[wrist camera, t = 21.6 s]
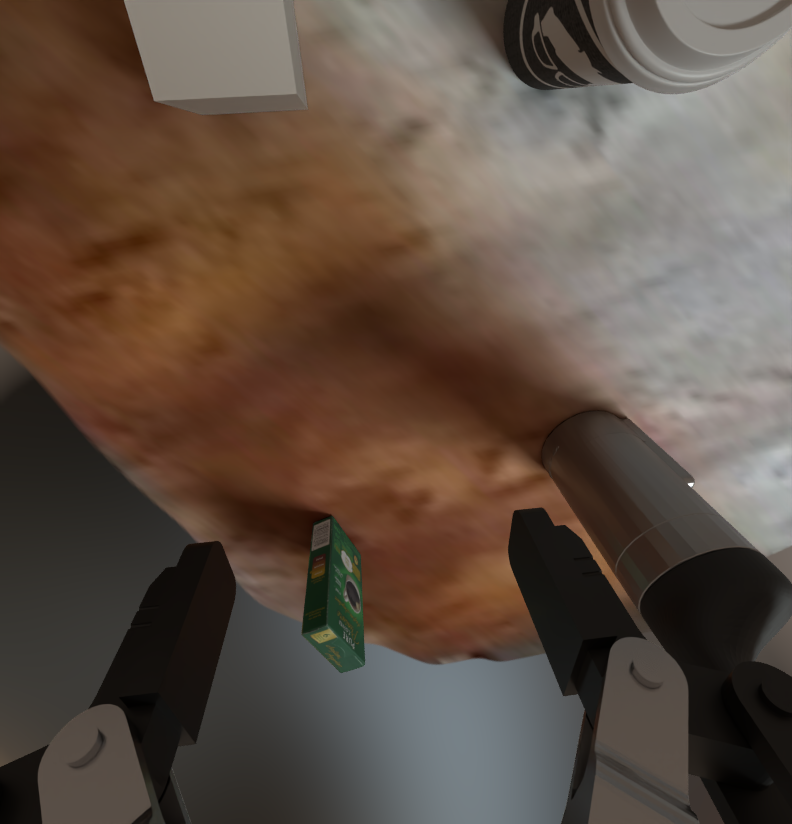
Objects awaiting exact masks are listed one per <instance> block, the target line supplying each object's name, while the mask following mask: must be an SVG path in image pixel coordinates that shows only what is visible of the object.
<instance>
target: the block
mask: <svg viewBox="0 0 792 824" xmlns="http://www.w3.org/2000/svg"><path fill="white" fill-rule="evenodd" d="M124 3H125V6H126V9H127V12H128V16H129V19H130V22H131V26H132V29H133V32H134V36H135V39H136V42H137V46H138V49H139V52H140V56H141V59H142V62H143V66H144V69H145V72H146V76H147V79H148V82H149V86H150V89H151V92H152V96H153V99H154V101H156V102H159V103H163V104H166V105H169V106H173V107H176V108H180V109H183V110H186V111H190V112H193V113H196V114H200V115H213V114H232V113H252V112H271V111H290V110H308V106H307V99H306V92H305V84H304V77H303V70H302V62H301V55H300V47H299V40H298V33H297V25H296V18H295V11H294V3H293V0H124Z"/></svg>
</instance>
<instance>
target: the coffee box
mask: <svg viewBox="0 0 792 824" xmlns="http://www.w3.org/2000/svg"><path fill="white" fill-rule="evenodd" d="M302 635H303V637H304V638H306V639H307V640H308V641H309V642H310V643H311V644H312V645H313V646H314V647H315V648H316V649H317V650H318V651H319V652H320V653H321V654H322V655H323V656H324V657H325V658H326V659H327V660H328V661H329V662H330V663H331V664H332V665H333V666H334V667H335V668H336V669H337V670H338V671H339V672H340V673H343V672H347V671H350V670H354V669H357V668H360V667H362V666H364V665H365V653H364V652H365V651H364V626H363V603H362V577H361V555H360V553H359V552H358V551H357V549H356V547H355V546H354V545H353V544H352V542H351V541H350V540H349V538H348V537H347V535H346V534H345V533H344V531H343V530H342V528H341V527H340V525H339V524H338V523H337V521H336V520H335V518H334V517H333V516H330V517H328V518H325V519H323V520H320V521H317V522H315V523H313V529H312V538H311V548H310V557H309V568H308V577H307V587H306V596H305V606H304V615H303V625H302Z"/></svg>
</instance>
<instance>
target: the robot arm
mask: <svg viewBox="0 0 792 824" xmlns="http://www.w3.org/2000/svg"><path fill="white" fill-rule="evenodd" d="M542 462H543V465H544V467H545V468H546V470H547V471H548V473H549V475H550V477H551V478H552V479H553V481H554V482H555V484H556V485H557V487H558V488H559V490H560V492H561V493H562V495H563V496H564V498H565V499H566V501H567V502H568V504H569V505H570V507H571V509H572V510H573V512H574V513H575V515H576V516H577V518H578V519H579V521H580V522H581V524H582V525H583V527H584V528H585V530H586V532H587V533H588V535H589V536H590V538H591V539H592V541H593V542H594V544H595V545H596V547H597V548H598V550H599V551H600V553H601V554H602V556H603V558H604V559H605V561H606V562H607V564H608V565H609V567H610V568H611V570H612V571H613V573H614V574H615V576H616V577H617V579H618V580H619V582H620V583H621V585H622V586H623V588H624V590H625V591H626V593H627V594H628V596H629V597H630V599H631V600H632V602H633V603H634V605H635V606H636V608H637V609H638V611H639V612H640V614H641V615H642V617H643V618H644V620H645V621H646V623H647V624H648V626H649V627H650V629H651V630H652V632H653V633H654V635H655V636H656V638H657V639H658V641H659V642H660V643H661V645H662V646H663V648H664V649H665V650H663V649H662V648H661V647H659V646H658V645H656V644H654V643H652V642H650V641H648V640H647V639H646V638H645V637H644V636H643V635H642V633H641V632H640V631H639V629H638V628H637V626H636V625H635V623H634V621H633V620H632V618H631V617H630V615H629V613H628V612H627V610H626V609H625V607H624V605H623V604H622V602H621V601H620V599H619V598H618V596H617V594H616V593H615V591H614V590H613V588H612V586H611V585H610V583H609V582H608V580H607V578H606V577H605V575H603V574H602V570H601V569H600V567H599V566H598V564H597V563H596V561H595V560H593V556H592V555H591V553H590V551H589V550H588V548H587V547H586V545H585V543H584V542H583V540H582V539H581V538H580V537H579V536H577V535H576V534H575V533H574V532H573V531H572V530H570V529H569V528H568V527H567V526H566V525H560V526H554V524H553V522H552V521H551V519H550V517H549V515H548V514H547V512H546V511H545V510H544V509H543V508H532V509H523V510H515V511H514V513H513V518H512V525H511V532H510V538H509V545H508V554H509V560H510V565H511V568H512V571H513V573H514V576H515V578H516V581H517V583H518V586H519V588H520V591H521V593H522V595H523V598H524V600H525V603H526V605H527V608H528V610H529V613H530V615H531V618H532V620H533V623H534V625H535V628H536V630H537V632H538V635H539V637H540V640H541V642H542V645H543V647H544V650H545V652H546V655H547V657H548V660H549V662H550V664H551V667H552V669H553V672H554V674H555V677H556V679H557V682H558V684H559V687H560V689H561V691H562V694H563V696H568V695H576V694H578V695H579V697H580V699H581V702H582V704H583V706H584V708H585V711H584V714H583V720H582V725H581V731H580V735H579V741H578V746H577V751H576V757H575V762H574V768H573V773H572V779H571V783H570V789H569V794H568V799H567V803H566V808H565V811H564V815H563V818H562V822H561V824H699V821H698V818H697V816H696V814H695V813H694V812H693V811H692V810H691V808H690V805H689V798H688V774H691V775H695V776H699V777H700V778H701V780H702V782H703V784H704V786H705V788H706V789H707V791H708V793H709V795H710V797H711V799H712V801H713V803H714V805H715V806H716V808H717V810H718V812H719V814H720V816H721V818H722V820H723V822H724V823H725V824H792V677H791V676H789V675H788V674H786V673H785V672H783V671H781V670H779V669H777V668H775V667H773V666H770V665H768V664H764V663H761V662H755V660H756V658H757V656H758V654H759V653H760V651H761V650H762V649H763V648H764V646H765V645H766V644H767V643H768V642H769V641H770V640H771V639H772V638H773V637H774V636H775V635H776V634H777V633H778V632H779V630H780V629H781V628H782V627H783V626H784V625H785V624H786V623H787V622H788V620H789V619H790V617H791V615H792V584H791V582H790V581H789V580H788V579H787V577H786V576H785V575H784V574H783V573H782V572H781V571H780V570H779V569H778V568H777V567H776V566H775V565H774V564H772V563H771V562H770V561H769V560H768V559H767V558H766V557H765V556H764V555H763V554H761V553H760V552H759V551H758V550H757V549H756V548H755V547H754V546H753V545H752V544H751V543H750V542H749V541H748V540H747V539H746V538H744V537H743V536H742V535H741V534H740V533H739V532H738V531H737V530H736V529H735V528H734V527H733V526H732V525H731V524H730V523H729V522H727V521H726V520H725V519H724V518H723V517H722V516H721V515H720V514H719V513H718V512H717V511H716V510H715V509H714V508H713V507H711V506H710V505H709V504H708V503H707V502H706V501H705V500H704V499H703V498H702V497H701V496H700V495H699V494H698V493H697V492H696V491H695V490H694V489H692V488H693V486H694V483H695V481H694V478H693V477H692V476H691V475H690V474H689V473H688V472H687V471H686V470H685V469H684V468H683V467H682V466H680V465H679V464H678V463H677V462H676V461H675V460H674V459H673V458H672V457H671V456H669V455H668V454H667V453H666V452H665V451H664V450H663V449H662V448H661V447H660V446H658V445H657V444H656V443H655V442H654V441H653V440H652V439H651V438H650V437H649V436H648V435H646V434H645V433H644V432H643V431H642V430H641V429H640V428H639V427H638V426H637V425H635V424H634V423H633V422H632V421H631V420H630V419H619V418H618V417H616V416H615V415H613V414H611V413H608V412H605V411H589V412H585V413H581V414H578V415H576V416H574V417H571V418H569V419H568V420H566V421H565V422H563V423H561V424H560V425H559V426H558V427H557V428H556V429H555V430H554V431H553V432H552V433H551V434H550V435H549V437H548V438H547V440H546V442H545V444H544V447H543V450H542ZM235 595H236V582H235V577H234V574H233V571H232V569H231V566H230V564H229V561H228V559H227V556H226V554H225V551H224V549H223V546H222V544H221V543H220V542H219V541H214V542H204V543H195V544H189V545H187V546H186V547H185V549H184V551H183V553H182V555H181V557H180V559H179V562H178V564H177V566H176V567H168V568H165V570H164V571H163V572H162V573H161V574H160V575H159V576H158V577H157V578H156V579H155V581H154V582H153V583H152V584H151V585H150V586H149V588H148V590H147V592H146V594H145V597H144V598H143V600H142V602H141V604H140V607H139V611H137V613H136V615H135V617H134V619H133V621H132V623H131V628H130V629H128V631H127V633H126V635H125V637H124V640H123V642H122V644H121V646H120V648H119V650H118V652H117V654H116V656H115V658H114V660H113V662H112V664H111V666H110V668H109V671H108V673H107V675H106V677H105V679H104V681H103V683H102V685H101V687H100V689H99V691H98V693H97V695H96V697H95V699H94V701H93V703H92V704H91V705H90V707H89V708H88V710H86V711H84V712H82V713H81V714H79V715H78V716H76V717H75V718H74V719H73V720H71V721H70V722H69V723H68V724H66V725H65V726H64V727H63V728H62V730H60V732H59V733H58V734H57V735H56V736H55V738H54V739H53V740H52V741H51V743H50V744H49V745H47V746H45V747H43V748H41V749H39V750H37V751H35V752H32V753H30V754H28V755H26V756H24V757H22V758H19V759H17V760H15V761H13V762H10V763H8V764H6V765H4V766H2V767H0V824H191V822H190V819H189V816H188V813H187V810H186V807H185V804H184V801H183V799H182V795H181V793H180V790H179V787H178V784H177V781H176V778H175V775H174V772H173V770H172V768H171V767H172V763H173V761H174V757H175V754H176V750H177V747H178V746H185V745H192V744H196V741H197V738H198V734H199V730H200V726H201V723H202V719H203V715H204V712H205V708H206V704H207V700H208V697H209V693H210V690H211V686H212V682H213V679H214V675H215V671H216V667H217V664H218V660H219V656H220V653H221V649H222V645H223V642H224V638H225V634H226V630H227V627H228V623H229V619H230V615H231V612H232V608H233V604H234V600H235Z"/></svg>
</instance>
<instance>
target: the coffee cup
mask: <svg viewBox="0 0 792 824" xmlns="http://www.w3.org/2000/svg"><path fill="white" fill-rule="evenodd" d="M791 28H792V0H508V4H507V8H506V12H505V18H504V44H505V50H506V54H507V57H508V60H509V63H510V65H511V67H512V69H513V71H514V72H515V74H516V75H517V76H518V77H519V78H520V79H521V80H522V81H523V82H524V83H525V84H527V85H529V86H530V87H533V88H536V89H541V90H552V89H564V88H576V87H588V86H600V85H613V84H626V83H634V84H636V85H638V86H640V87H642V88H644V89H647V90H649V91H653V92H657V93H663V94H681V93H688V92H693V91H697V90H700V89H703V88H706V87H708V86H711V85H713V84H715V83H717V82H719V81H721V80H723V79H725V78H727V77H729V76H730V75H732V74H734V73H736V72H737V71H739V70H741V69H742V68H744V67H745V66H747V65H748V64H750V63H751V62H753V61H754V60H755V59H757V58H758V57H759V56H761V55H762V54H763V53H764V52H765V51H767V50H768V49H769V48H770V47H772V46H773V45H774V44H775V43H776V42H777V41H779V40H780V39H781V38H782V37H783V36H784V35H785V34H786V33H787V32H788V31H789V30H790V29H791Z"/></svg>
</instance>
